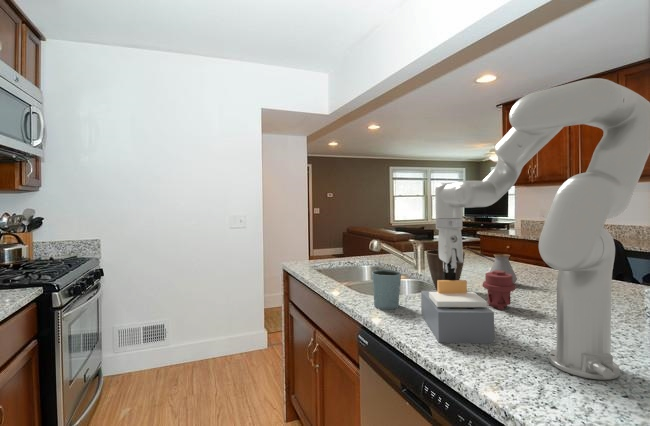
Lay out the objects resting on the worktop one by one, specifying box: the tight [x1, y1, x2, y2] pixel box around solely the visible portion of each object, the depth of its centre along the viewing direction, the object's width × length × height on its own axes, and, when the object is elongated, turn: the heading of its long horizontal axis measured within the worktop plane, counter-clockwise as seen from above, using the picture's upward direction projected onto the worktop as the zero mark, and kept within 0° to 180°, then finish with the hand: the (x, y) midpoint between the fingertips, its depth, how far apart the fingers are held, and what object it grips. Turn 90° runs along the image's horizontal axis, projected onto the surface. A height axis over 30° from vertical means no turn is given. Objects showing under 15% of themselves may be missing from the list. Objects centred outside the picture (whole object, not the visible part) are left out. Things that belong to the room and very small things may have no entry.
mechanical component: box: [482, 270, 516, 311], centre depth 119 cm, size 12×10×10 cm
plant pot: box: [425, 249, 466, 291], centre depth 141 cm, size 15×15×16 cm
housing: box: [420, 290, 495, 344], centre depth 100 cm, size 22×14×8 cm, turn 176°
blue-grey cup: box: [371, 269, 402, 311], centre depth 123 cm, size 10×10×12 cm
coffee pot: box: [464, 247, 518, 284], centre depth 154 cm, size 21×12×15 cm, turn 50°
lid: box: [429, 279, 488, 307], centre depth 97 cm, size 10×13×5 cm
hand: (449, 285), depth 104 cm, fingers closed
